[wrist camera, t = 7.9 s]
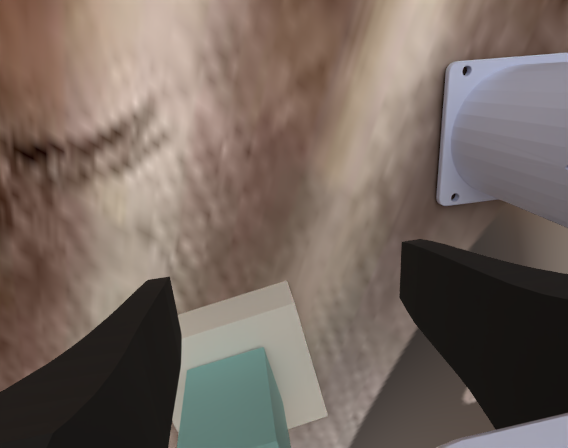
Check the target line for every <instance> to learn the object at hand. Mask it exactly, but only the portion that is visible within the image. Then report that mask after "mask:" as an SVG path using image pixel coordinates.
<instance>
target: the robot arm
mask: <svg viewBox="0 0 568 448" xmlns="http://www.w3.org/2000/svg"><path fill="white" fill-rule="evenodd" d="M465 66H466V68H467V73H466V74H465V75H463V73H462V70H463V68H464V67H465ZM454 193H455V198H454V199H452V200H451V196H452V195H453V194H454ZM436 199H437V202H438V203H439V204H441V205H443V206H451V205H459V204H466V203H474V202H482V201H490V200H497V199H500V200H502V201H505V202H507V203H509V204H512V205H514V206H516V207H519V208H521V209H524V210H526V211H529V212H531V213H533V214H536V215H538V216H540V217H543V218H545V219H548V220H550V221H552V222H555V223H557V224H559V225H562V226H564V227H567V228H568V53H557V54H544V55H531V56H519V57H506V58H493V59H481V60H468V61H456V62H452V63H451V64H449V66H448V67H447V69H446V75H445V89H444V102H443V115H442V129H441V142H440V156H439V169H438V182H437V196H436ZM400 299H401V301H402V303H403V304H404V306H405V308H406V310H407V311H408V313H409V315H410V316H411V318H412V319H413V321H414V322H415V324H416V325H417V326H418V328H419V329H420V330H421V331H422V332H423V334H424V335H425V336H426V337H427V338H428V340H429V341H430V342H431V343H432V345H433V346H434V347H435V348H436V349H437V351H438V352H439V353H440V354H441V355H442V356H443V358H444V359H445V360H446V361H447V363H448V364H449V365H450V366H451V367H452V368H453V370H454V371H455V372H456V373H457V374H458V376H459V377H460V378H461V379H462V381H463V382H464V383H465V385H466V386H467V387H468V389H469V390H470V391H471V393H472V394H473V396H474V397H475V399H476V400H477V402H478V403H479V405H480V406H481V408H482V409H483V411H484V412H485V414H486V415H487V416H488V418H489V420H490V421H491V423H492V424H493V426H494V427H495V429H496V430H493V431H489V432H485V433H480V434H476V435H472V436H467V437H463V438H459V439H455V440H452V441H450V442H448V443H445V444H443V445H441V446H439V447H436V448H568V274H562V273H557V272H552V271H546V270H541V269H536V268H531V267H526V266H522V265H518V264H513V263H509V262H505V261H501V260H498V259H494V258H490V257H486V256H483V255H479V254H476V253H472V252H469V251H466V250H462V249H459V248H455V247H452V246H448V245H445V244H441V243H437V242H433V241H428V240H422V239H418V240H412V241H405V242H402V251H401V276H400ZM181 352H182V334H181V329H180V324H179V319H178V315H177V310H176V305H175V300H174V295H173V290H172V286H171V281H170V277H164V278H158V279H151V280H147V281H146V282H145V283H144V284H143V285H142V286H141V287H139V288H138V289H137V290H136V291H135V292H134V293H133V294H132V295H131V296H130V297H129V298H128V299H127V300H126V301H125V302H124V303H123V304H122V305H121V306H120V307H119V308H118V309H117V310H115V311H114V312H113V313H112V314H111V315H110V316H109V317H108V318H107V319H105V320H104V321H103V322H102V323H101V324H100V325H98V326H97V327H96V328H95V329H94V330H92V331H91V332H90V333H89V334H88V335H87V336H85V337H84V338H83V339H82V340H80V341H79V342H78V343H76V344H75V345H74V346H72V347H71V348H70V349H68V350H67V351H65V352H64V353H63V354H61V355H60V356H58V357H57V358H55V359H54V360H52V361H51V362H49V363H48V364H46V365H45V366H43V367H42V368H40V369H38V370H37V371H35V372H33V373H32V374H30V375H28V376H27V377H25V378H23V379H22V380H20V381H18V382H17V383H15V384H14V385H12V386H10V387H8V388H7V389H5V390H3V391H1V392H0V448H168V444H169V436H170V430H171V424H172V418H173V412H174V406H175V400H176V394H177V388H178V381H179V375H180V369H181Z"/></svg>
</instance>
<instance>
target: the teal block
mask: <svg viewBox="0 0 568 448" xmlns="http://www.w3.org/2000/svg"><path fill="white" fill-rule="evenodd" d="M177 448H291V446H290V440H289V434H288V428H287V423H286V417H285V411H284V405H283V401H282V398H281V395H280V393H279V390H278V387H277V384H276V381H275V378H274V375H273V372H272V369H271V367H270V364H269V361H268V358H267V355H266V352H265V349H264V347H262V348H259V349H255V350H252V351H249V352H245V353H242V354H239V355H235V356H232V357H229V358H226V359H222V360H219V361H216V362H212V363H209V364H206V365H202V366H199V367H196V368H193V369H189V370H187V374H186V382H185V390H184V397H183V405H182V412H181V420H180V428H179V435H178V443H177Z"/></svg>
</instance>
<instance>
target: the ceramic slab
mask: <svg viewBox="0 0 568 448" xmlns="http://www.w3.org/2000/svg"><path fill="white" fill-rule="evenodd" d="M178 319H179V324H180V329H181V334H182V352H181V369H180V375H179V381H178V388H177V394H176V400H175V406H174V412H173V418H172V422H173V424H174V426H175V428H176V430H177V431H178V433H179V428H180V420H181V412H182V405H183V397H184V390H185V382H186V374H187V370H189V369H193V368H196V367H199V366H202V365H206V364H209V363H212V362H216V361H219V360H222V359H226V358H229V357H232V356H235V355H239V354H242V353H245V352H249V351H252V350H255V349H259V348H262V347H264V349H265V352H266V355H267V358H268V361H269V364H270V367H271V369H272V372H273V375H274V378H275V381H276V384H277V387H278V390H279V393H280V395H281V398H282V401H283V405H284V411H285V417H286V423H287V428H288V429H291V428H294V427H297V426H300V425H303V424H306V423H309V422H312V421H315V420H318V419H321V418H324V417H327V416H328V414H327V411H326V408H325V404H324V401H323V397H322V394H321V391H320V387H319V384H318V380H317V377H316V374H315V370H314V367H313V364H312V360H311V357H310V353H309V350H308V347H307V343H306V340H305V337H304V333H303V330H302V326H301V323H300V320H299V316H298V313H297V310H296V306H295V303H294V300H293V297H292V294H291V291H290V288H289V285H288V282H287V281H284V282H280V283H277V284H274V285H271V286H268V287H264V288H261V289H258V290H255V291H252V292H249V293H245V294H242V295H239V296H236V297H233V298H229V299H226V300H223V301H220V302H217V303H214V304H210V305H207V306H204V307H201V308H198V309H194V310H191V311H188V312H185V313H182V314H179V315H178Z"/></svg>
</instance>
